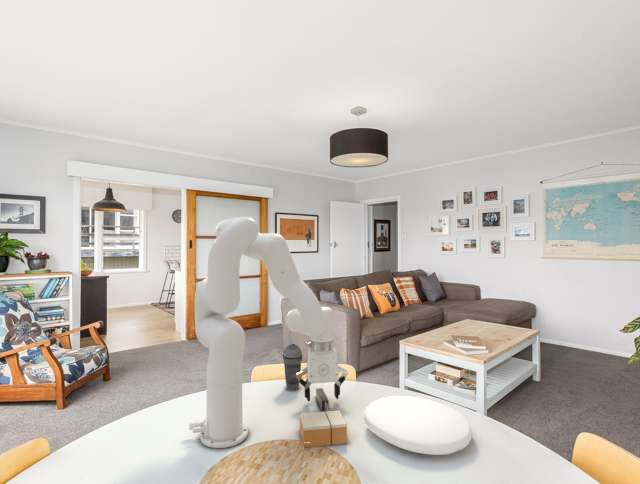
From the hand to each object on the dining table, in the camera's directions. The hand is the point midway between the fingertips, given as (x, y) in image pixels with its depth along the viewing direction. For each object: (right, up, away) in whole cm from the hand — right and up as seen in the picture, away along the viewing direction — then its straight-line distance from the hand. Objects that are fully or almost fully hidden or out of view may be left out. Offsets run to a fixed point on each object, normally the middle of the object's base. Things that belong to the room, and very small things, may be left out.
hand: (322, 398), depth 120 cm
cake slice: (+3, -1, -20) cm, 21 cm away
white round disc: (+25, -1, -19) cm, 32 cm away
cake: (-3, -1, -21) cm, 22 cm away
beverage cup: (-10, -2, +13) cm, 17 cm away
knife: (+1, -2, -5) cm, 5 cm away
